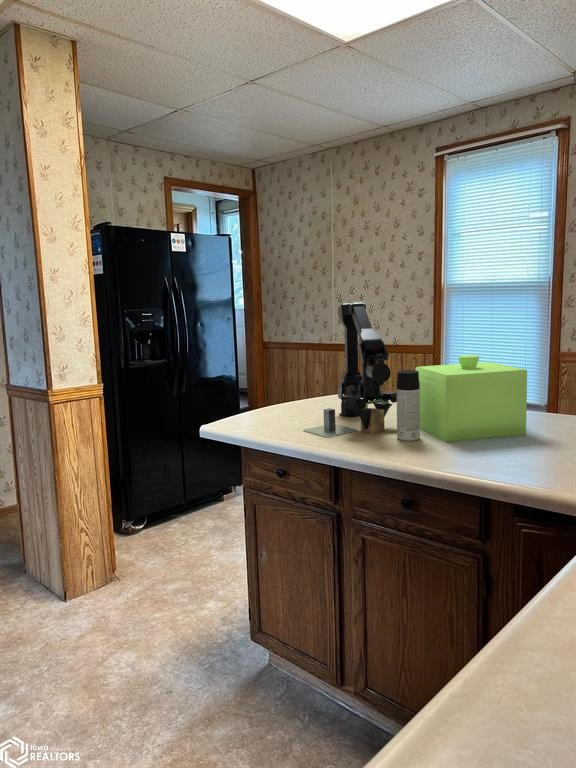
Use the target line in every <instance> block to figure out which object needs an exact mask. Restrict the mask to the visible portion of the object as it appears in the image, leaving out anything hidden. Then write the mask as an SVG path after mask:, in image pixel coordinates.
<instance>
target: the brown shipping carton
mask: <svg viewBox="0 0 576 768" xmlns="http://www.w3.org/2000/svg"><path fill="white" fill-rule="evenodd" d="M369 408H370V409H371V413H370V419H369V426H368V429H364V426H363V424H362V421H361V418H359V419H360V432H361V433H365V434H369V435H374V434H379V433H383V432H385V417H384V410H382V409H377V408H375V407H369Z"/></svg>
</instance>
